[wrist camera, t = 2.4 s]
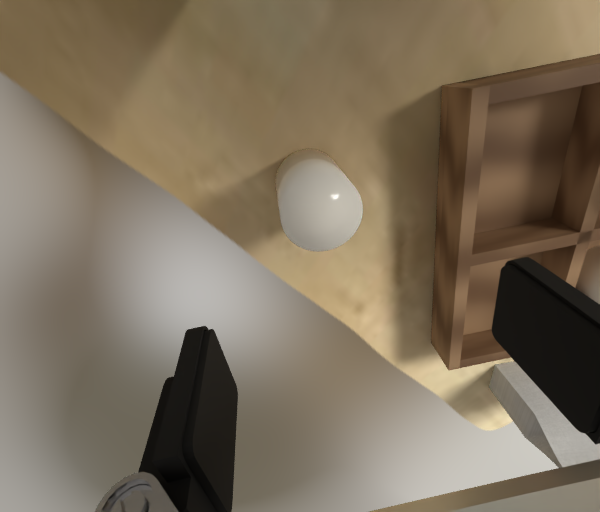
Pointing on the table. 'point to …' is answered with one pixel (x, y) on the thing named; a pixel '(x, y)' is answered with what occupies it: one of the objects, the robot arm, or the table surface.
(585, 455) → the milk carton
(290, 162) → the egg
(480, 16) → the table surface
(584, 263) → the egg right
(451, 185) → the rack
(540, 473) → the robot arm
